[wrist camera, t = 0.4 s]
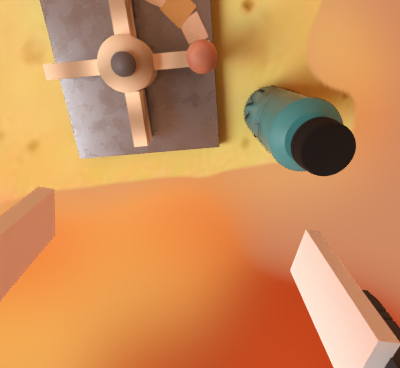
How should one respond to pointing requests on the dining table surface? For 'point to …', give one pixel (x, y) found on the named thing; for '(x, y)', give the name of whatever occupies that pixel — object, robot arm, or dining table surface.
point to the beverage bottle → (300, 131)
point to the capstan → (133, 66)
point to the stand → (155, 93)
